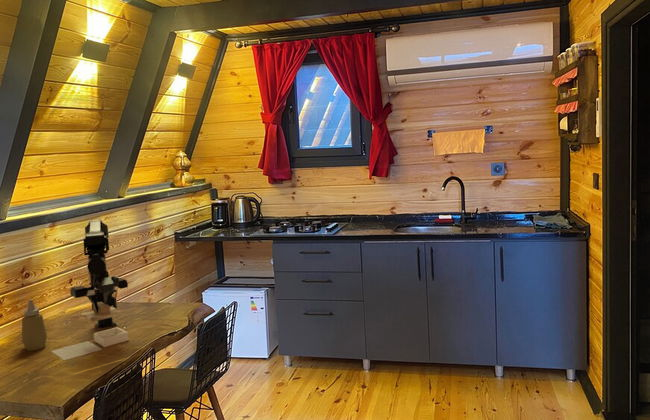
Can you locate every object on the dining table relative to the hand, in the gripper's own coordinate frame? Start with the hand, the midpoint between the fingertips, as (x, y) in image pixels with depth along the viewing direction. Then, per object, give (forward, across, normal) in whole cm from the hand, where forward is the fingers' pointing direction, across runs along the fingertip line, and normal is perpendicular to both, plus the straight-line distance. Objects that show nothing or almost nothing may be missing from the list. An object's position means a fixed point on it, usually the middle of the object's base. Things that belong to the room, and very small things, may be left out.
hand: (101, 310), depth 208 cm
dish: (+12, +2, 0) cm, 13 cm away
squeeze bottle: (+13, -20, +14) cm, 27 cm away
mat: (+12, -10, 0) cm, 16 cm away
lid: (+2, 0, 0) cm, 2 cm away
